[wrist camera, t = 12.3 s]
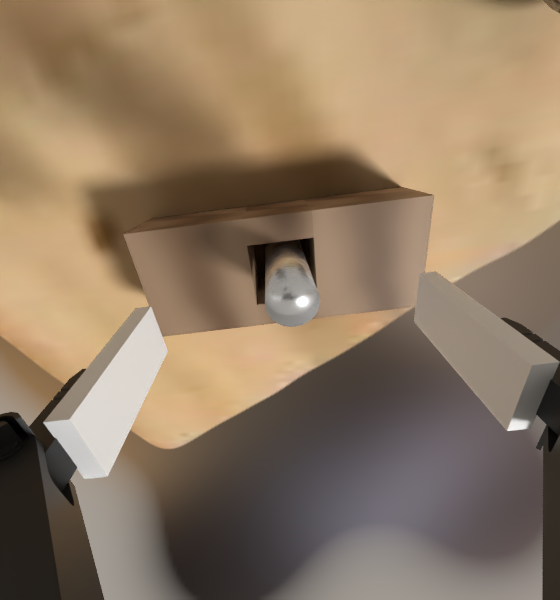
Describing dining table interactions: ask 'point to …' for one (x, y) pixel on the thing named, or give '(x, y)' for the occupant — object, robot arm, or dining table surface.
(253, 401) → the dining table surface
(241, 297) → the hole block
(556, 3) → the decorative egg
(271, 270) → the steel peg
